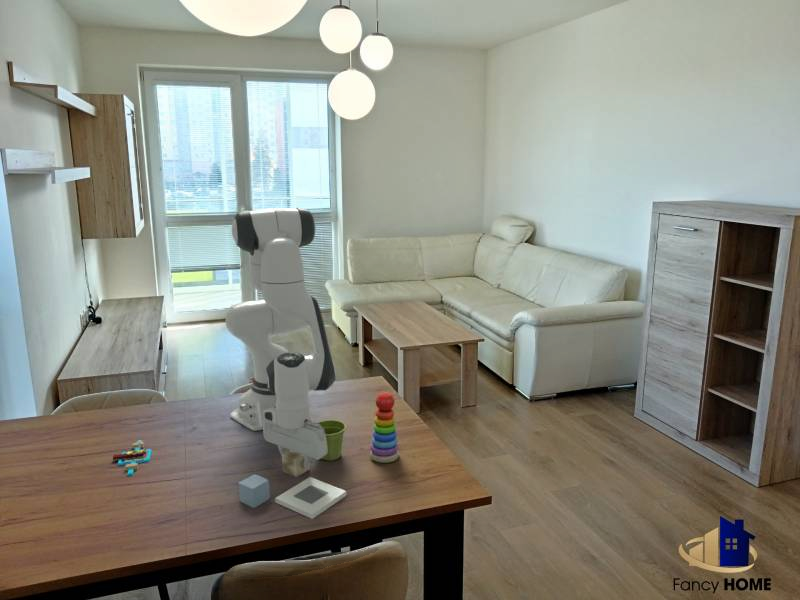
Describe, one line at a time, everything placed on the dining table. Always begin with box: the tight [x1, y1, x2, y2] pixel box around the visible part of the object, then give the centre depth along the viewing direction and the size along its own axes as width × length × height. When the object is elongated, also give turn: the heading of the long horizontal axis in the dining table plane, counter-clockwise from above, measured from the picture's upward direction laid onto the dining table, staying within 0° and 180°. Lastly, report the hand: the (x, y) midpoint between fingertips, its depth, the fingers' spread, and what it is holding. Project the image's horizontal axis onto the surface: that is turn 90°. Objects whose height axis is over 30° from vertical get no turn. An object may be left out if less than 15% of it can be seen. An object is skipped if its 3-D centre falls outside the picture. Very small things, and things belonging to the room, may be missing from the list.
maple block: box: [281, 449, 311, 478], centre depth 160 cm, size 5×5×5 cm
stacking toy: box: [369, 391, 400, 464], centre depth 165 cm, size 8×8×19 cm
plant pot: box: [317, 419, 347, 461], centre depth 167 cm, size 9×9×9 cm
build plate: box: [274, 476, 347, 520], centre depth 146 cm, size 12×12×1 cm
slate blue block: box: [238, 474, 271, 508], centre depth 146 cm, size 5×5×5 cm
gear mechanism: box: [112, 439, 153, 477], centre depth 167 cm, size 20×5×9 cm
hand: (296, 464), depth 160 cm, fingers open, 6 cm apart
